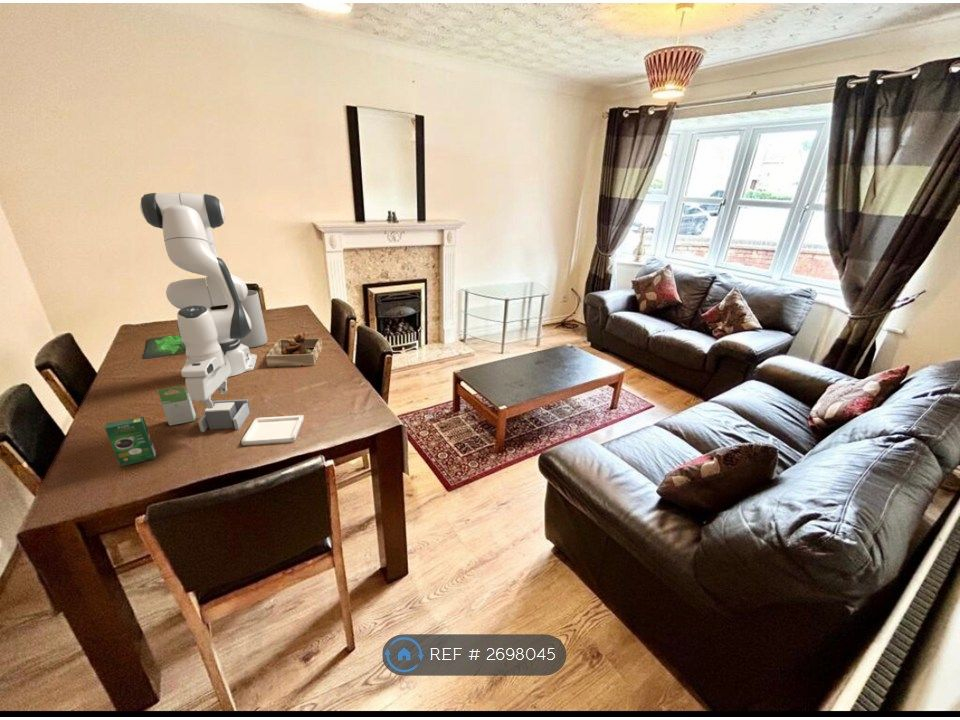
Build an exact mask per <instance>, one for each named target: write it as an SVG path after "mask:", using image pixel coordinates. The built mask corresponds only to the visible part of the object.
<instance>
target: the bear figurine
mask: <svg viewBox="0 0 960 720" xmlns="http://www.w3.org/2000/svg"><path fill="white" fill-rule="evenodd" d="M305 334H306V333H305V331H303V332H302V333H298V334H295V335H293V336H292V339H294V340H288V343H289V345H287V346H286V347H285V348H283V349H282V351H281V352H280V354H279V355H293V354H311V353H312V349H306V348H305V342H304V340H305V338H306V336H305Z"/></svg>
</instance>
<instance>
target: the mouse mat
mask: <svg viewBox="0 0 960 720" xmlns="http://www.w3.org/2000/svg"><path fill="white" fill-rule="evenodd" d="M182 354H186V347H185V344H184V343H183V341H182V339H181V338H180V335H179V334H175V335H173V334H172V335H166V336H160V337H153V338H148V339H146V343H145V348H144V351H143V354H142V359H143V360H152V359H156V358H164V357H170V356H176V355H182Z"/></svg>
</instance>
